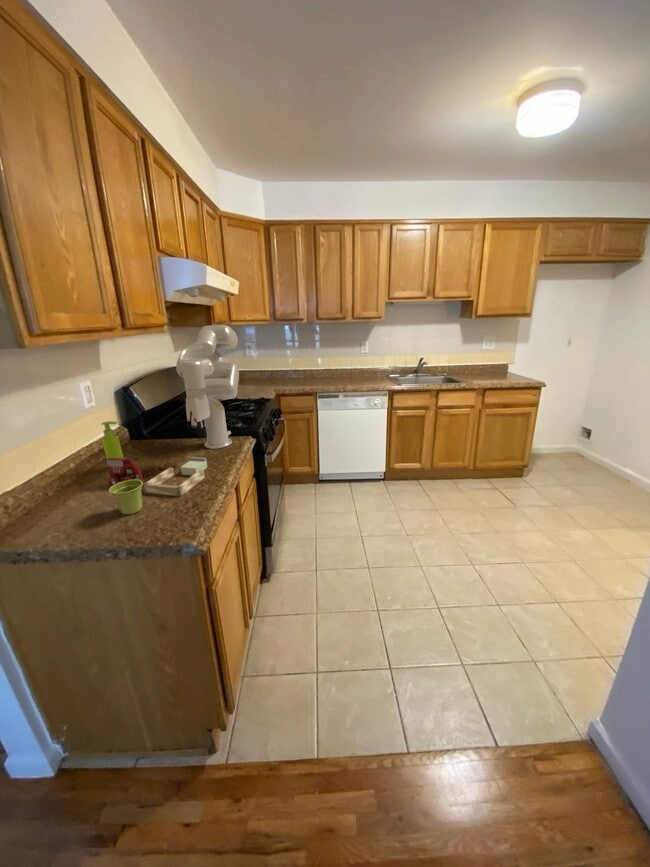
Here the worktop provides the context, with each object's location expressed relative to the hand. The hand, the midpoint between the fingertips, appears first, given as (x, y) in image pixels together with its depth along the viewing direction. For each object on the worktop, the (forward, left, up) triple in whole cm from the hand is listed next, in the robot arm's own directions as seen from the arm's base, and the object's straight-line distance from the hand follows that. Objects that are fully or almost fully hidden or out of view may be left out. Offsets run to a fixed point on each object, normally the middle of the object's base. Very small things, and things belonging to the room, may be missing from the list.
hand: (202, 436), depth 145 cm
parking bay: (+21, 0, -12) cm, 24 cm away
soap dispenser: (+11, -34, -12) cm, 38 cm away
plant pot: (+39, -3, -12) cm, 41 cm away
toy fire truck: (+23, -19, -12) cm, 32 cm away
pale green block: (+9, 0, -12) cm, 15 cm away
